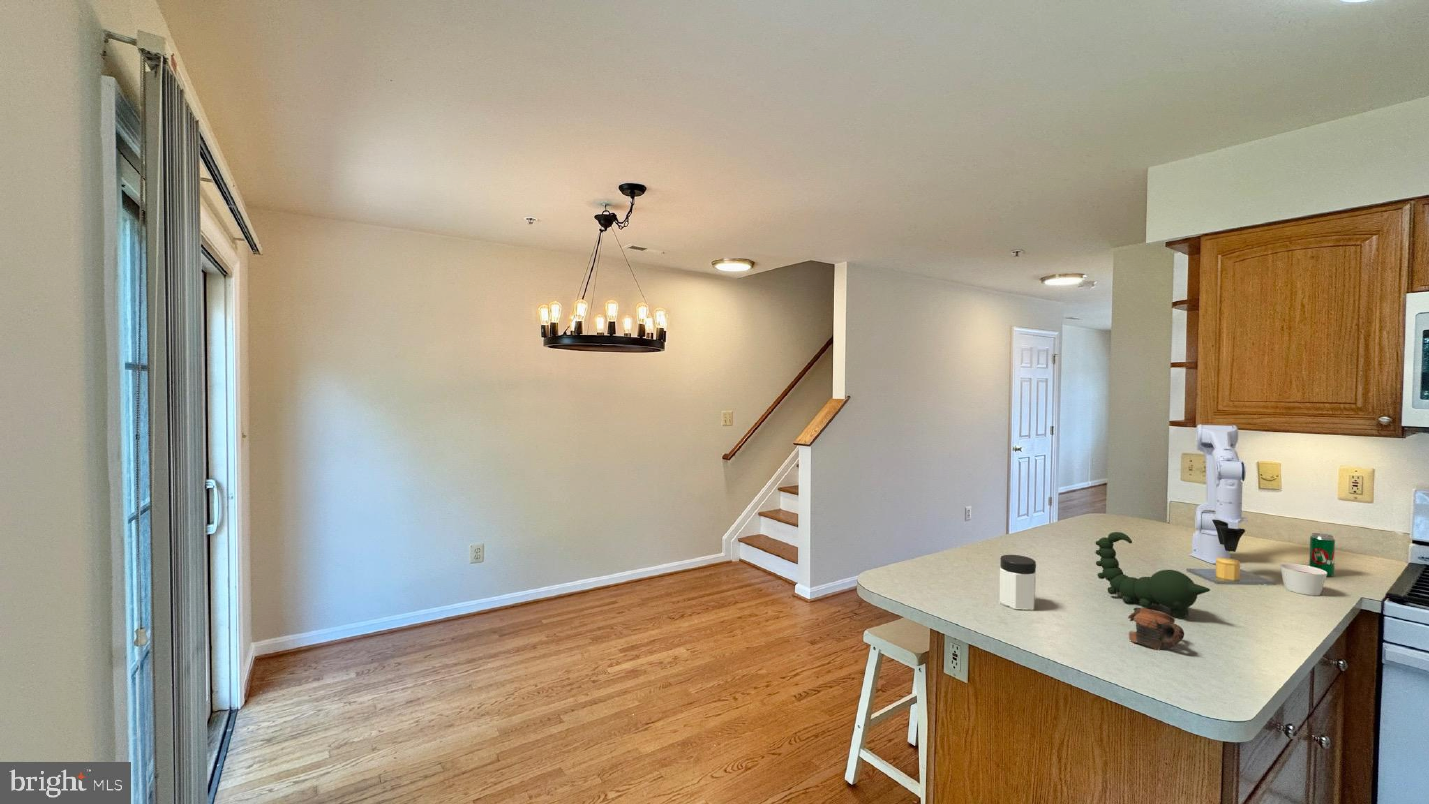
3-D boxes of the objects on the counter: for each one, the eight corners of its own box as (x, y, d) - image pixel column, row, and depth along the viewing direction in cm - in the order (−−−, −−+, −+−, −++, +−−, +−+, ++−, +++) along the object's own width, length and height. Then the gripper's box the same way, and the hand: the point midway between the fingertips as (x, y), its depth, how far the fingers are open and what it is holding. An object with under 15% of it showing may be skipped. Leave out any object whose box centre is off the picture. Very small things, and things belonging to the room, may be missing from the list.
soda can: (1322, 571, 170) (1323, 532, 170) (1339, 577, 165) (1340, 537, 165) (1304, 571, 170) (1305, 532, 170) (1320, 576, 165) (1321, 536, 165)
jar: (1043, 607, 144) (1044, 561, 143) (1023, 613, 140) (1023, 566, 140) (1012, 596, 152) (1012, 552, 151) (991, 601, 148) (992, 556, 148)
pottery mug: (1113, 638, 128) (1119, 602, 130) (1146, 653, 129) (1152, 618, 131) (1166, 648, 116) (1171, 609, 119) (1202, 665, 117) (1206, 626, 120)
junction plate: (1186, 571, 171) (1186, 558, 171) (1241, 571, 170) (1241, 559, 170) (1216, 583, 160) (1216, 570, 160) (1275, 584, 159) (1275, 571, 159)
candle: (1315, 588, 156) (1316, 566, 156) (1334, 599, 148) (1335, 576, 148) (1272, 583, 160) (1273, 561, 160) (1289, 594, 152) (1289, 571, 152)
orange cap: (1217, 577, 163) (1218, 560, 163) (1214, 572, 167) (1214, 556, 167) (1241, 581, 160) (1241, 563, 160) (1237, 576, 164) (1237, 559, 164)
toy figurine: (1091, 600, 152) (1201, 629, 130) (1086, 531, 153) (1195, 546, 131) (1113, 595, 156) (1223, 621, 133) (1108, 527, 157) (1216, 542, 134)
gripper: (1253, 508, 155) (1252, 556, 155) (1241, 498, 167) (1240, 543, 167) (1219, 505, 159) (1218, 552, 159) (1210, 496, 171) (1208, 540, 171)
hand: (1227, 547), depth 163 cm, fingers open, 7 cm apart
